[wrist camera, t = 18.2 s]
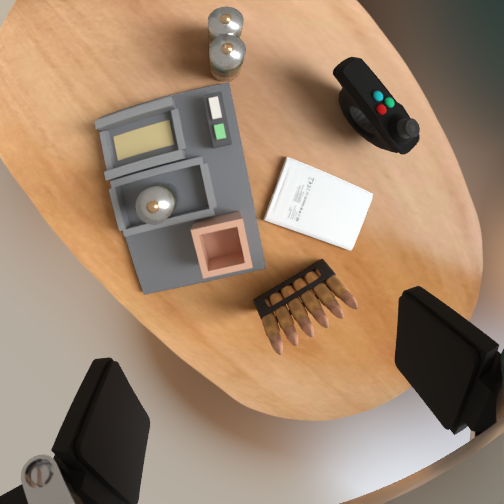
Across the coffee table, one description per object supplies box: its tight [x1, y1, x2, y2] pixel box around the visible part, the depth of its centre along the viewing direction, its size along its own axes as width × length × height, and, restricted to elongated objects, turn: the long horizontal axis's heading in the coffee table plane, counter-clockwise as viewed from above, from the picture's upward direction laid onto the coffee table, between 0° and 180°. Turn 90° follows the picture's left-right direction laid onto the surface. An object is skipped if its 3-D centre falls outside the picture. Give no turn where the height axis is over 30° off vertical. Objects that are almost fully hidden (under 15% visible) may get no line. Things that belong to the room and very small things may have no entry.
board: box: [94, 83, 266, 295], centre depth 32 cm, size 23×16×4 cm
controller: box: [333, 57, 420, 154], centre depth 29 cm, size 4×12×10 cm, turn 43°
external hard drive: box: [264, 157, 373, 251], centre depth 36 cm, size 2×8×12 cm
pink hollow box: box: [191, 211, 253, 279], centre depth 33 cm, size 5×5×5 cm
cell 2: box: [208, 7, 243, 45], centre depth 26 cm, size 4×4×7 cm
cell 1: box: [136, 183, 180, 225], centre depth 30 cm, size 4×4×7 cm
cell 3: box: [209, 35, 246, 82], centre depth 27 cm, size 4×4×7 cm
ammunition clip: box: [254, 259, 358, 355], centre depth 34 cm, size 11×2×12 cm, turn 120°
